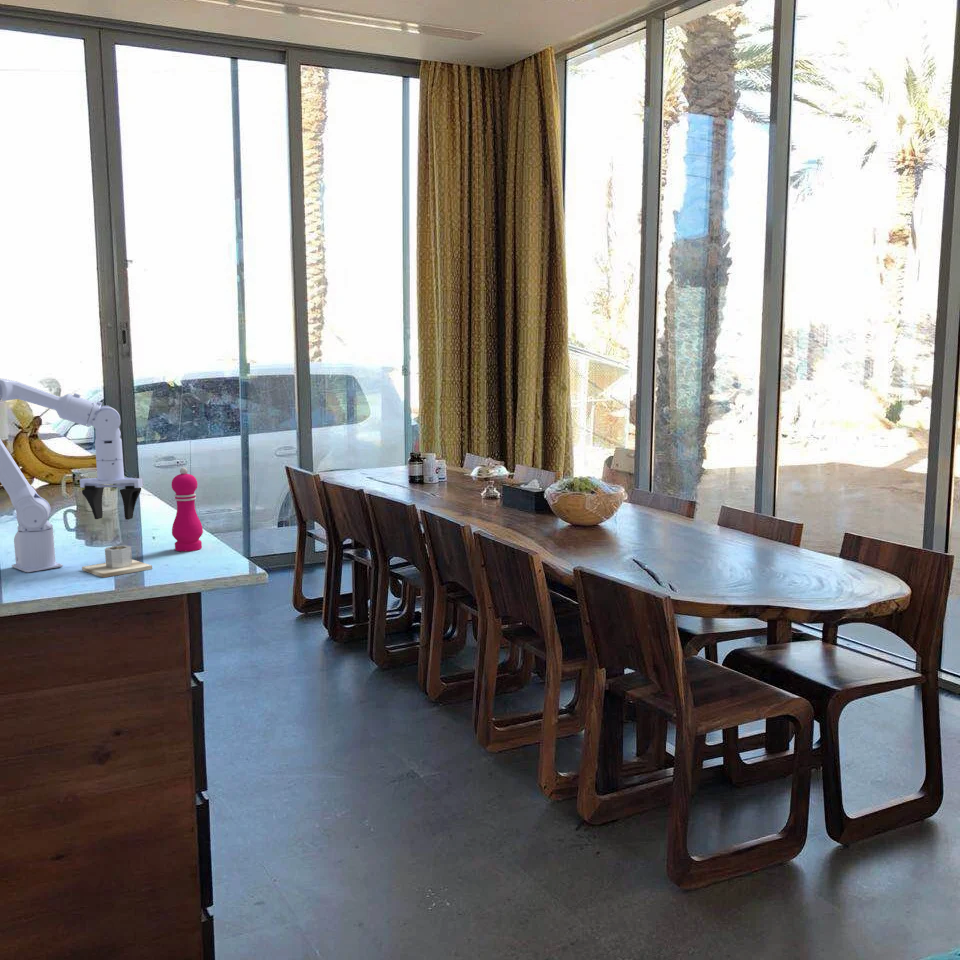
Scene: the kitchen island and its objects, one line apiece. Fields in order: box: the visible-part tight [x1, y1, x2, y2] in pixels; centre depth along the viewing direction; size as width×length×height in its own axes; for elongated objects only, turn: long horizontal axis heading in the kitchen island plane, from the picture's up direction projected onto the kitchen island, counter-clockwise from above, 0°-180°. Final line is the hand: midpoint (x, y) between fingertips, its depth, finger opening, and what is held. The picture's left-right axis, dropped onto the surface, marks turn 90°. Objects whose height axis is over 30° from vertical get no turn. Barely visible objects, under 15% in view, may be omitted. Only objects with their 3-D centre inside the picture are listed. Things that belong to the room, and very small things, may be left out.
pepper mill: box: [171, 466, 204, 552], centre depth 238 cm, size 7×7×20 cm
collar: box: [104, 545, 133, 568], centre depth 218 cm, size 5×5×4 cm
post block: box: [81, 559, 153, 578], centre depth 218 cm, size 11×11×4 cm
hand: (113, 518), depth 226 cm, fingers open, 7 cm apart
